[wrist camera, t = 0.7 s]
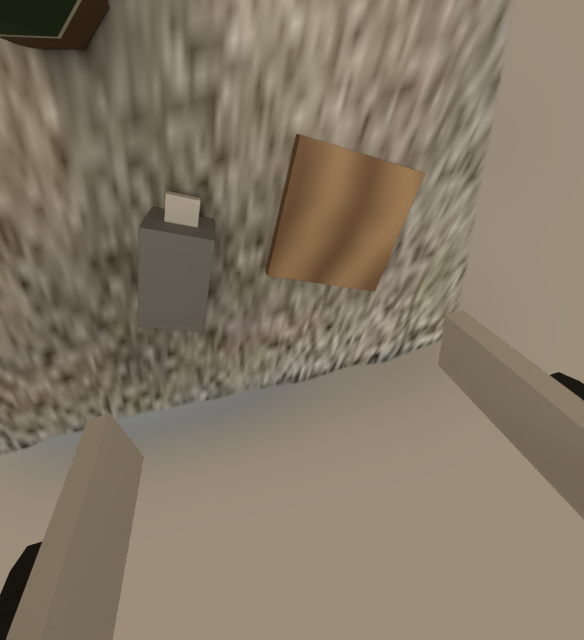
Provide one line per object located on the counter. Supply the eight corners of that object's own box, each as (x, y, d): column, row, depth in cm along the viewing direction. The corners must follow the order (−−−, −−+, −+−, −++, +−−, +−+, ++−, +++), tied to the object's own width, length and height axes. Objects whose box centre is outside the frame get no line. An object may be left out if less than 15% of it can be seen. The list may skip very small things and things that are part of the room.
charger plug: (149, 292, 30) (137, 326, 25) (153, 181, 25) (139, 196, 20) (203, 298, 31) (202, 332, 26) (217, 195, 26) (219, 212, 22)
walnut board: (265, 270, 31) (267, 275, 30) (296, 134, 25) (300, 134, 24) (370, 286, 35) (374, 291, 34) (417, 171, 29) (425, 173, 28)
